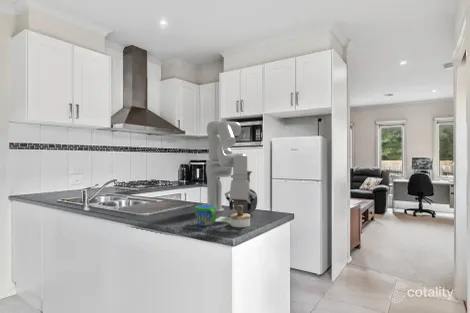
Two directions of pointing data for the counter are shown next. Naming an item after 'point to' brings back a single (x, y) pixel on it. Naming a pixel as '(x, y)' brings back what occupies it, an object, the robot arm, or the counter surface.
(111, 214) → the counter surface
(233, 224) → the bowl
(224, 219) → the mat
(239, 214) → the lid
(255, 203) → the pitcher
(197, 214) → the snack cup
